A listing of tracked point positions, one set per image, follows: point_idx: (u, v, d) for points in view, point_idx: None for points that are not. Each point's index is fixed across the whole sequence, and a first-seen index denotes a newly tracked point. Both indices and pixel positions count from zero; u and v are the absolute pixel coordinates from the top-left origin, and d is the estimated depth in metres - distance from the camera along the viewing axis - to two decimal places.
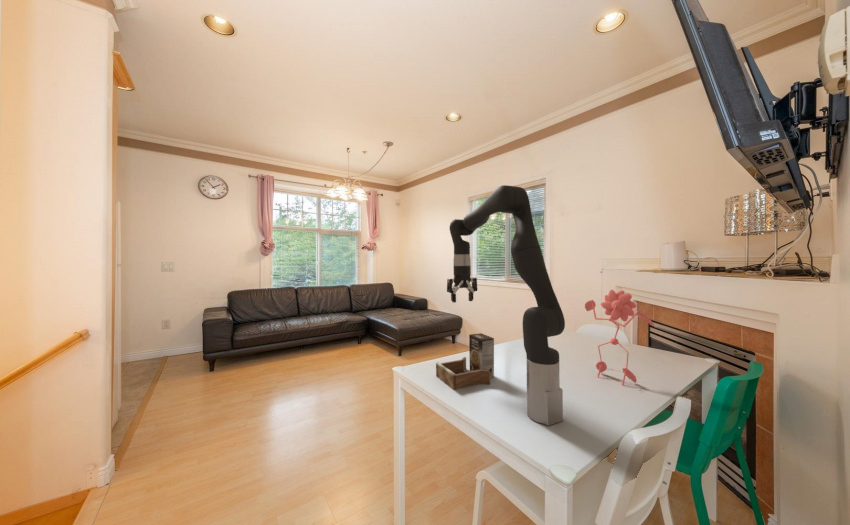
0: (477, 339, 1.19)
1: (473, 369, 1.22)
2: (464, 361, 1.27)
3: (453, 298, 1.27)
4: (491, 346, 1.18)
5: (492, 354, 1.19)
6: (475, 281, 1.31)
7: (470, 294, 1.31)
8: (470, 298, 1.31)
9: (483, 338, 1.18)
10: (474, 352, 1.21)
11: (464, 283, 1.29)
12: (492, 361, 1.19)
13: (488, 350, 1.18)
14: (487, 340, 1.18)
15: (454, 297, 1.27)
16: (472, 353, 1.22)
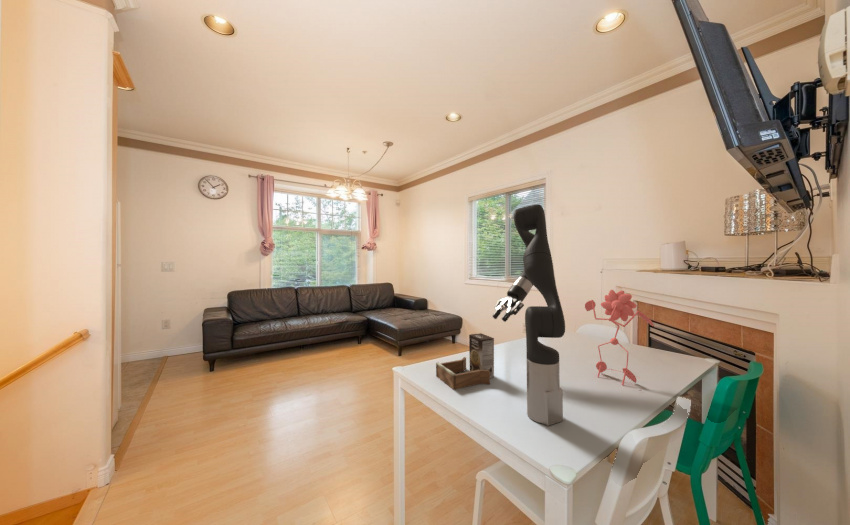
0: (477, 339, 1.19)
1: (473, 369, 1.22)
2: (464, 361, 1.27)
3: (494, 313, 1.29)
4: (491, 346, 1.18)
5: (492, 354, 1.19)
6: (517, 303, 1.22)
7: None
8: None
9: (483, 338, 1.18)
10: (474, 352, 1.21)
11: (509, 302, 1.27)
12: (492, 361, 1.19)
13: (488, 350, 1.18)
14: (487, 340, 1.18)
15: (495, 312, 1.29)
16: (472, 353, 1.22)
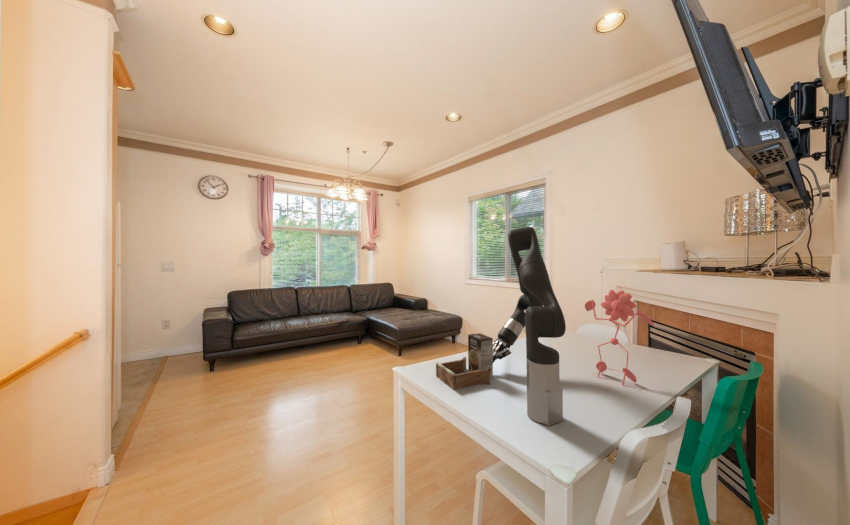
0: (476, 339, 1.19)
1: (472, 369, 1.22)
2: (464, 361, 1.27)
3: None
4: (490, 346, 1.18)
5: (491, 354, 1.19)
6: (504, 350, 1.21)
7: None
8: None
9: (482, 338, 1.18)
10: (473, 352, 1.21)
11: None
12: (491, 362, 1.19)
13: (487, 350, 1.18)
14: (486, 340, 1.17)
15: None
16: (471, 353, 1.22)
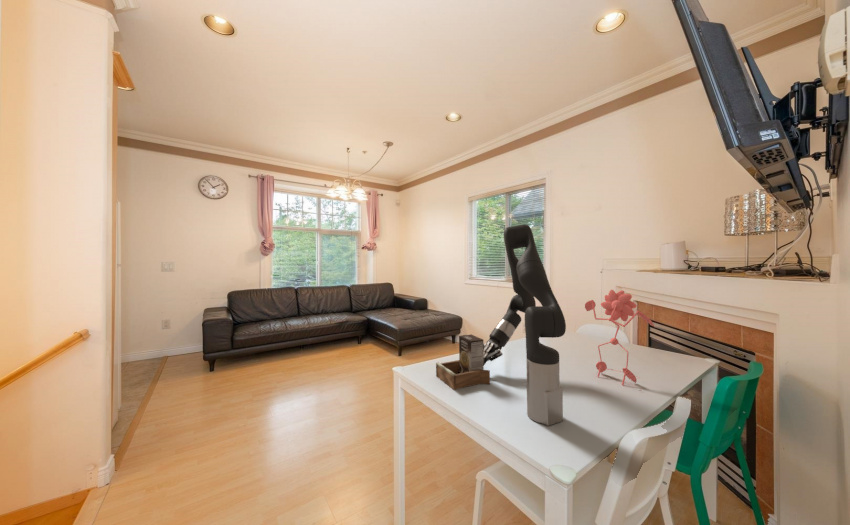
0: (466, 340, 1.17)
1: (462, 371, 1.20)
2: None
3: None
4: (480, 348, 1.16)
5: (481, 356, 1.17)
6: (495, 351, 1.19)
7: None
8: None
9: (472, 339, 1.16)
10: (463, 354, 1.19)
11: None
12: (482, 363, 1.17)
13: (477, 352, 1.16)
14: (476, 341, 1.16)
15: None
16: (462, 355, 1.20)
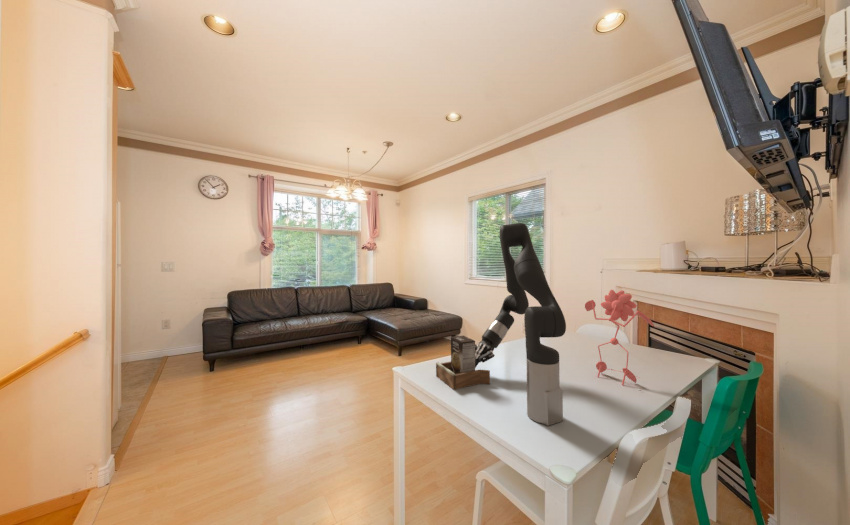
0: (458, 342, 1.15)
1: (454, 372, 1.18)
2: None
3: None
4: (472, 349, 1.15)
5: (473, 357, 1.15)
6: (487, 353, 1.17)
7: None
8: None
9: (463, 341, 1.15)
10: (455, 355, 1.17)
11: None
12: (473, 365, 1.15)
13: (469, 353, 1.14)
14: (468, 343, 1.14)
15: None
16: (453, 356, 1.18)
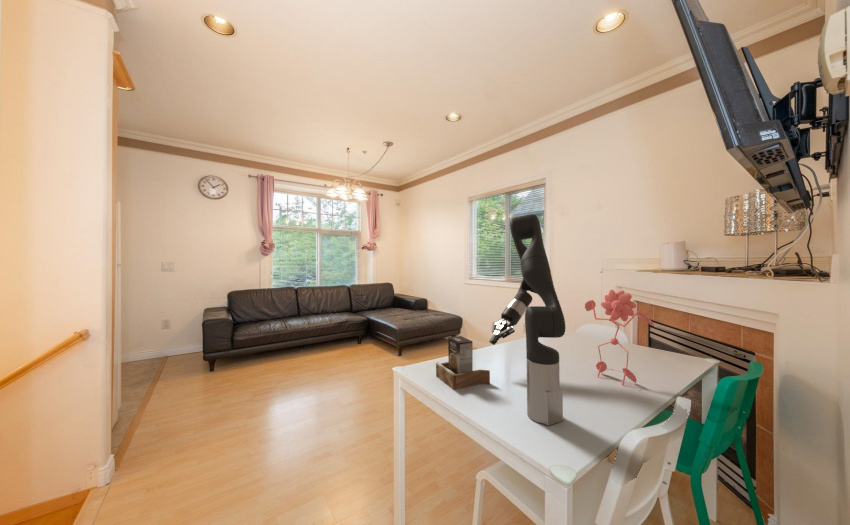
0: (455, 342, 1.15)
1: None
2: None
3: (491, 338, 1.25)
4: (469, 350, 1.14)
5: (470, 358, 1.15)
6: (508, 328, 1.22)
7: None
8: None
9: (461, 341, 1.14)
10: (452, 356, 1.17)
11: None
12: (471, 365, 1.15)
13: (466, 353, 1.14)
14: (465, 343, 1.14)
15: (492, 337, 1.25)
16: (451, 357, 1.18)
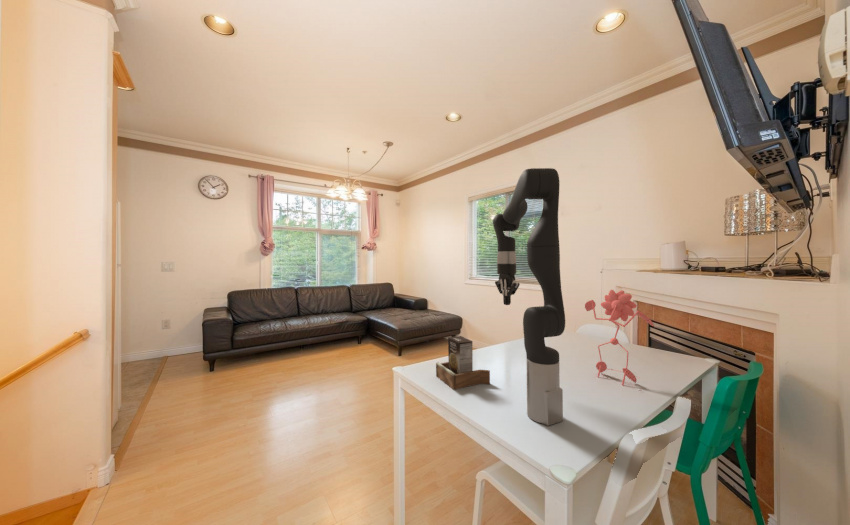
0: (455, 342, 1.15)
1: None
2: None
3: (503, 300, 1.22)
4: (469, 350, 1.14)
5: (470, 358, 1.15)
6: (512, 286, 1.16)
7: None
8: None
9: (461, 341, 1.14)
10: (452, 356, 1.17)
11: None
12: (471, 365, 1.15)
13: (466, 353, 1.14)
14: (465, 343, 1.14)
15: (504, 299, 1.21)
16: (451, 357, 1.18)
